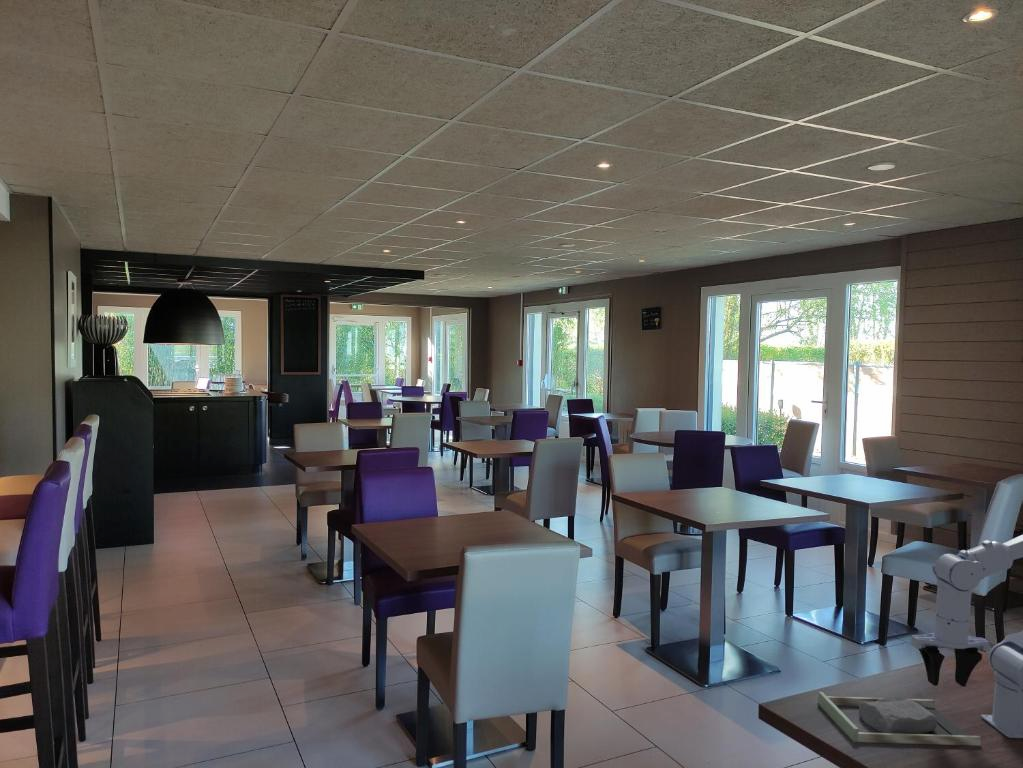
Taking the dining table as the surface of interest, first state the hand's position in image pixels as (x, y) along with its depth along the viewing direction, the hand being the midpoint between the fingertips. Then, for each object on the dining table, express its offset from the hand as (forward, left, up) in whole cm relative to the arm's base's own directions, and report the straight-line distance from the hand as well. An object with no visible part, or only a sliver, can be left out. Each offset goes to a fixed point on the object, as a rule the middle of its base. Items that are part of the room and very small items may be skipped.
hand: (946, 683), depth 142 cm
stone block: (+10, 0, -8) cm, 13 cm away
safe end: (+22, 0, -8) cm, 23 cm away
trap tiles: (+1, 0, -8) cm, 8 cm away
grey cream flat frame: (+9, 0, -8) cm, 13 cm away
